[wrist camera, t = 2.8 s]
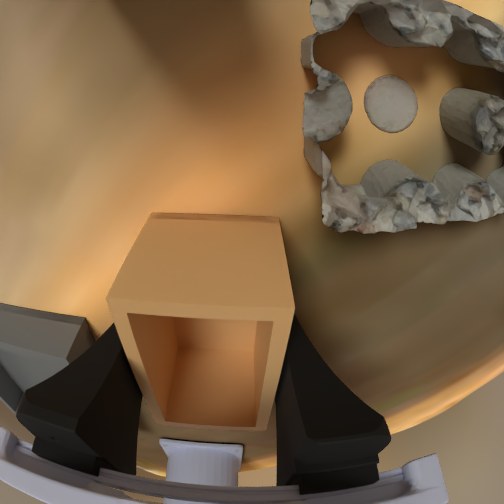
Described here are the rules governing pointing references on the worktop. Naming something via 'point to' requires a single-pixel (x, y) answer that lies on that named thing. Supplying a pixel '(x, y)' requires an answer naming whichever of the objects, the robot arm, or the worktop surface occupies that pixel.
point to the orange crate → (206, 318)
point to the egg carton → (406, 118)
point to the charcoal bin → (36, 348)
